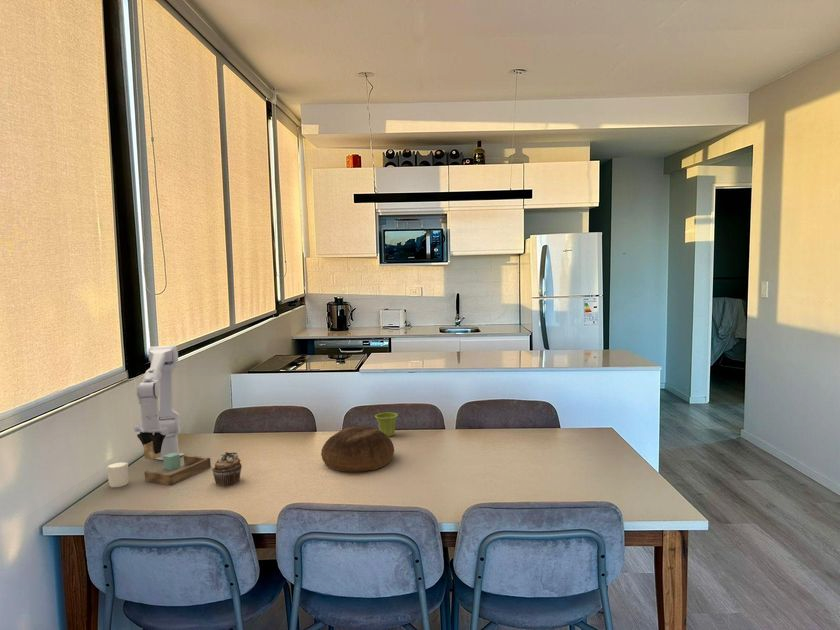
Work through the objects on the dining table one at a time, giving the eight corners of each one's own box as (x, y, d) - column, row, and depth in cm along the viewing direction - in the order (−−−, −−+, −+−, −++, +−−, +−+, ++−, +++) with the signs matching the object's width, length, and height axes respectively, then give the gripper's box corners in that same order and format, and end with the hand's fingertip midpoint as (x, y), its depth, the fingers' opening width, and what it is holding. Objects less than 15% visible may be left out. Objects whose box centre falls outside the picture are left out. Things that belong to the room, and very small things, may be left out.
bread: (408, 459, 223) (407, 424, 222) (353, 480, 203) (351, 442, 202) (363, 446, 241) (361, 414, 239) (308, 464, 221) (306, 429, 220)
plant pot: (397, 438, 250) (396, 417, 249) (375, 438, 250) (374, 418, 249) (398, 431, 259) (398, 412, 258) (377, 432, 259) (376, 412, 258)
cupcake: (219, 477, 211) (217, 449, 210) (246, 476, 210) (244, 449, 210) (208, 487, 201) (206, 458, 200) (237, 487, 201) (235, 458, 200)
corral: (145, 481, 209) (144, 471, 209) (186, 463, 227) (185, 454, 226) (170, 485, 205) (169, 475, 204) (210, 467, 222) (210, 458, 221)
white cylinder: (134, 481, 210) (132, 462, 209) (118, 488, 203) (116, 468, 203) (119, 479, 212) (117, 460, 211) (103, 487, 206) (101, 467, 205)
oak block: (144, 458, 214) (143, 444, 213) (153, 454, 218) (152, 441, 217) (152, 459, 212) (151, 445, 212) (161, 455, 216) (160, 442, 215)
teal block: (164, 469, 222) (162, 456, 221) (172, 465, 226) (171, 452, 225) (172, 470, 220) (171, 457, 220) (180, 466, 224) (179, 453, 223)
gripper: (126, 416, 213) (129, 453, 214) (156, 419, 207) (159, 457, 208) (142, 411, 219) (145, 447, 221) (171, 414, 214) (174, 451, 215)
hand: (153, 452), depth 215 cm, fingers closed on oak block, 4 cm apart
